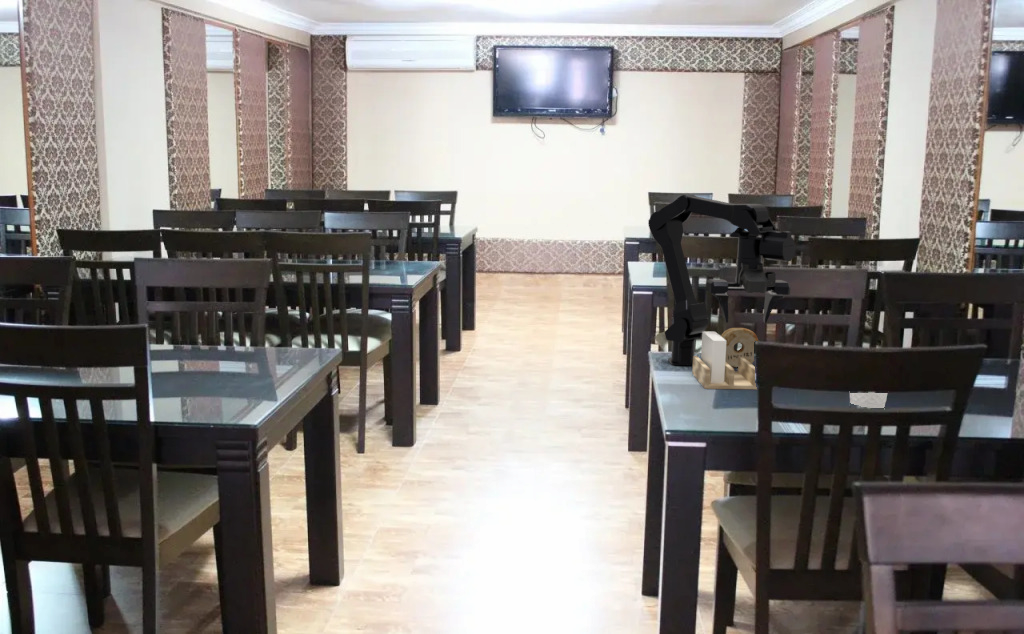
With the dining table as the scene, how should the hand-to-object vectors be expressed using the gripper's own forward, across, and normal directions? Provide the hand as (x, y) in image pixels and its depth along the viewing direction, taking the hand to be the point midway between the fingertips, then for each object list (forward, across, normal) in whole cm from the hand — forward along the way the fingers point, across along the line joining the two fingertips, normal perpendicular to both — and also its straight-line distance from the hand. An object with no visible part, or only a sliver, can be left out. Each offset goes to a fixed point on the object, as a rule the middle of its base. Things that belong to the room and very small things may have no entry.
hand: (745, 322), depth 225 cm
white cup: (+13, +18, -31) cm, 38 cm away
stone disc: (+13, +1, +10) cm, 17 cm away
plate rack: (+13, -6, -6) cm, 16 cm away
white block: (+12, -9, -6) cm, 16 cm away
